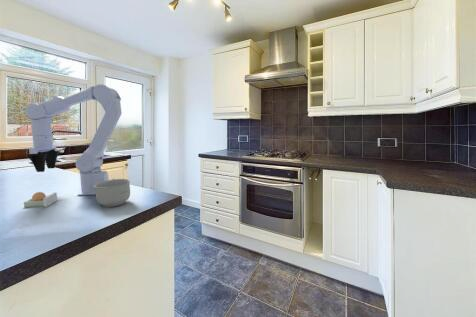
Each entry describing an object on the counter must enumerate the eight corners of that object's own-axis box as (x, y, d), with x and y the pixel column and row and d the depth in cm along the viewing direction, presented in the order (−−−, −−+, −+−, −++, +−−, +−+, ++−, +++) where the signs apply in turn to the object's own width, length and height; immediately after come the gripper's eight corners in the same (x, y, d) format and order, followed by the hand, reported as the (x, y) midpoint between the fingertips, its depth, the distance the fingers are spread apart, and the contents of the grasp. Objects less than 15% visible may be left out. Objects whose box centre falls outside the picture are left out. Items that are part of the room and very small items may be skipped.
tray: (53, 200, 80) (53, 195, 80) (45, 205, 75) (44, 200, 75) (34, 201, 79) (34, 197, 78) (24, 207, 73) (23, 202, 73)
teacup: (127, 207, 74) (126, 184, 72) (90, 210, 70) (88, 187, 69) (134, 195, 87) (133, 176, 86) (103, 197, 84) (102, 177, 83)
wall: (57, 200, 80) (56, 192, 80) (46, 206, 74) (45, 198, 73) (54, 200, 80) (53, 192, 80) (43, 206, 73) (42, 198, 73)
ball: (48, 200, 79) (47, 190, 78) (42, 203, 75) (41, 193, 75) (36, 201, 78) (35, 191, 78) (30, 204, 74) (28, 193, 74)
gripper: (40, 135, 90) (44, 167, 92) (16, 136, 77) (21, 174, 78) (60, 135, 92) (63, 166, 94) (41, 136, 79) (45, 173, 80)
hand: (46, 169), depth 86 cm, fingers open, 7 cm apart
